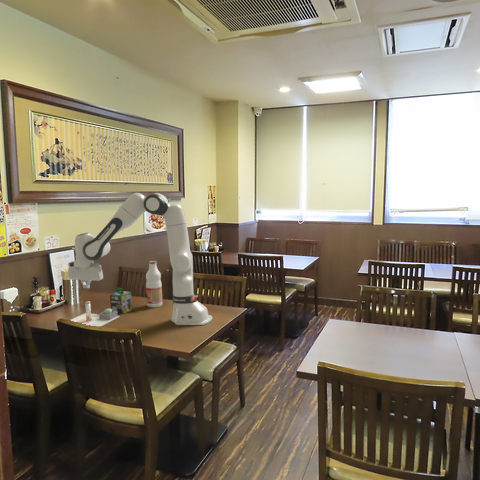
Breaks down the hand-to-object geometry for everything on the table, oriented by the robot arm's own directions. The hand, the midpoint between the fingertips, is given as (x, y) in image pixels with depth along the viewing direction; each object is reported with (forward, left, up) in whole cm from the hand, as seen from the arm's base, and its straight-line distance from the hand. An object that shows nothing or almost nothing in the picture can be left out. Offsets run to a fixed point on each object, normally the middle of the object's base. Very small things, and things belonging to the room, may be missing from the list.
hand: (86, 287), depth 212 cm
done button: (-8, -7, -17) cm, 20 cm away
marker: (0, 0, -18) cm, 18 cm away
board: (-1, -2, -19) cm, 19 cm away
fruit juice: (-21, -36, -19) cm, 46 cm away
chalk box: (-8, -20, -19) cm, 29 cm away
